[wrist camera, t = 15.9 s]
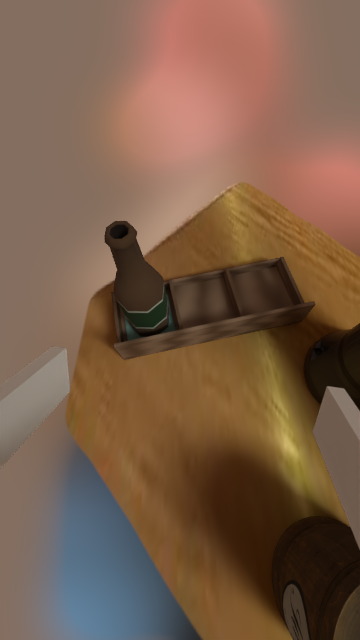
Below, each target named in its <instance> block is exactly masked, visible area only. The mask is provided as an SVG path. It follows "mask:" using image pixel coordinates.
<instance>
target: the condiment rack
mask: <svg viewBox="0 0 360 640" xmlns="http://www.w3.org/2000/svg"><path fill="white" fill-rule="evenodd" d="M164 285H165V291H166V296H167V301H168V306H169V323H168V327H167V328H166V329H165V330H164V331H163V332H161V333H160V334H158V335H154V336H149V337H147V336H140V335H139V334H138V333H137V332H136V331H135V329H134V328H133V327H132V326H131V325H130V324H129V322H128V320H127V318H126V317H125V315H124V313H123V311H122V309H121V307H120V305H119V304H118V302H117V300H116V298H115V295H114V292H111V293H112V301H113V310H114V318H115V326H116V335H117V343H116V344H114V348H115V349H116V351H117V352H118V353H119V354H120V355H121V357H122V358H123V359H124V360H126V359H130V358H135V357H139V356H144V355H149V354H153V353H158V352H163V351H167V350H172V349H176V348H181V347H186V346H190V345H195V344H199V343H204V342H209V341H213V340H218V339H223V338H227V337H232V336H236V335H241V334H246V333H250V332H255V331H260V330H264V329H269V328H273V327H278V326H283V325H287V324H292V323H297V322H301V321H302V320H303V318H304V317H305V316H306V315H307V314H308V313H309V311H310V310H311V309H312V308H313V307H314V306H315V302H314V301H313V302H308V303H304V301H303V299H302V296H301V294H300V292H299V290H298V288H297V286H296V283H295V281H294V279H293V277H292V275H291V273H290V270H289V268H288V266H287V264H286V262H285V259H284V257H280V258H275V259H270V260H266V261H261V262H256V263H251V264H246V265H241V266H236V267H232V268H226V269H222V270H217V271H212V272H207V273H202V274H198V275H193V276H188V277H183V278H178V279H173V280H168V281H164Z"/></svg>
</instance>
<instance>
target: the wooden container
mask: <svg viewBox="0 0 360 640" xmlns="http://www.w3.org/2000/svg"><path fill="white" fill-rule="evenodd" d="M272 582H273V589H274V594H275V598H276V602H277V605H278V607H279V610H280V612H281V615H282V617H283V619H284V621H285V623H286V625H287V627H288V629H289V632H290V634H291V636H292V638H293V640H360V549H359V547H358V544H357V542H356V539H355V537H354V534H353V532H352V529H351V528H350V527H348V526H347V525H345V524H343V523H341V522H338V521H336V520H333V519H330V518H326V517H308V518H305V519H302V520H300V521H298V522H296V523H294V524H293V525H292V526H291V527H289V528H288V529H287V530H286V532H285V533H284V534H283V536H282V537H281V539H280V541H279V543H278V545H277V547H276V550H275V554H274V558H273V565H272Z"/></svg>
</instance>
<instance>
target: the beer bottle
mask: <svg viewBox="0 0 360 640" xmlns="http://www.w3.org/2000/svg"><path fill="white" fill-rule="evenodd" d="M136 235H137V231H136V230H135V229H134V227H133V226H131V225H130V224H129V223H128V222H127V221H115V222H113V223H112V224H110V225H109V226H108V227H106V232H105V243H106V244H107V245H108V246H109V247H110V249H111V252H112V255H113V258H114V261H115V264H116V267H117V272H116V278H115V284H114V295H115V298H116V300H117V302H118V304H119V305H120V307H121V309H122V311H123V313H124V315H125V317H126V318H127V320H128V322H129V324H130V325H131V326H132V327H133V328H134V329H135V331H136V332H137V333H138V334H139V335H140V336H147V337H149V336H154V335H158V334H160V333H161V332H163V331H164V330H165V329H166V328H167V327H168V323H169V306H168V301H167V296H166V291H165V285H164V281H163V278H162V276H161V275H160V274H159V273H158V272H157V271H156V270H155V269H154V268H153V267H152V266H151V265H149V264H148V263H147V262H146V261H145V260H144V258H143V255H142V252H141V250H140V247H139V245H138V242H137V239H136Z"/></svg>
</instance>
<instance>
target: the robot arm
mask: <svg viewBox="0 0 360 640" xmlns="http://www.w3.org/2000/svg"><path fill="white" fill-rule="evenodd" d="M304 373H305V378H306V382H307V385H308V387H309V389H310V391H311V393H312V394H313V396H314V397H315V399H316V400H317V401H318V402H319V403H320V404H321V407H320V410H319V413H318V416H317V419H316V422H315V426H314V429H313V435H314V437H315V440H316V442H317V445H318V447H319V450H320V452H321V454H322V457H323V459H324V462H325V464H326V467H327V469H328V472H329V474H330V477H331V479H332V482H333V484H334V487H335V489H336V492H337V494H338V497H339V499H340V502H341V504H342V507H343V509H344V512H345V514H346V517H347V519H348V522H349V524H350V527H351V529H352V532H353V534H354V537H355V539H356V542H357V544H358V547H359V549H360V323H359V324H358V325H357V326H355V327H354V328H353V329H349V330H343V331H337V332H333V333H330V334H328V335H326V336H324V337H322V338H321V339H320V340H319V341H317V342H316V343H315V344H314V345H313V346H312V347H311V348H310V350H309V352H308V354H307V356H306V359H305V364H304ZM69 392H70V387H69V375H68V363H67V352H66V348H63V347H55V346H52V347H51V348H50V349H48V350H47V351H45V352H44V353H43V354H41V355H40V356H39V357H37V358H36V359H34V360H33V361H32V362H30V363H29V364H28V365H26V366H25V367H24V368H22V369H21V370H20V371H18V372H17V373H15V374H14V375H13V376H11V377H10V378H9V379H7V380H6V381H5V382H3V383H2V384H1V385H0V468H1V467H2V466H3V465H4V464H5V463H6V462H7V461H8V460H9V459H10V458H11V456H12V455H13V454H14V453H15V452H16V451H17V450H18V449H19V448H20V446H21V445H22V444H23V443H24V442H25V441H26V440H27V439H28V437H29V436H30V435H31V434H32V433H33V432H34V431H35V430H36V429H37V427H38V426H39V425H40V424H41V423H42V422H43V421H44V420H45V419H46V418H47V416H48V415H49V414H50V413H51V412H52V411H53V410H54V408H56V406H57V405H58V404H59V403H60V402H61V401H62V400H63V399H64V398H65V397H66V395H67V394H68V393H69Z"/></svg>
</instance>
